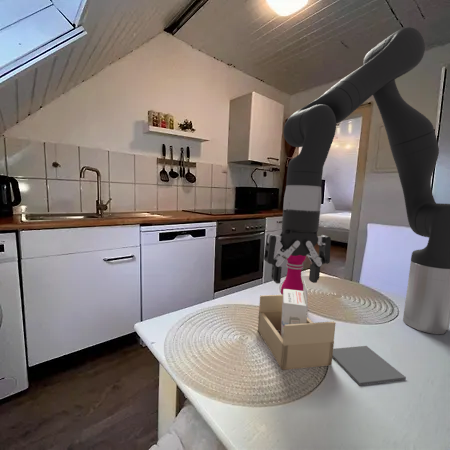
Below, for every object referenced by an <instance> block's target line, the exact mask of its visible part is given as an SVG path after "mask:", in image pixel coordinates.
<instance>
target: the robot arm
mask: <svg viewBox="0 0 450 450" xmlns="http://www.w3.org/2000/svg"><path fill="white" fill-rule="evenodd" d="M425 45H426V44H425V40H424V37H423V35H422V33H421V32H420V31H419V30H418V29H417V28H415V27H413V26H412V27H410V26H407V27H403V28H400V29H398V30H396V31H395V32H393V33H392V34H390V35H389V36H387V38H384V39H383V40H382V41H381V42H379V43H378V44H376V46H374V47H372V48H371V49H370V50H369V51H368V52H367V53H366V54H365V56H364V58H363V64H362V65H361V66H360V67H359V68H357V69H355V70H354V71H352V72H351V73H349V74H348V75H346V76H345V77H343V78H342V79H340V80H339V81H338V82H336V83H335V84H334V85H333V86H331V87H330V88H329V89H328V90H326V91H325V92H324V93H323V94H322V95H320V96H319V97H317V98H316V99H315V100H313V101H312V102H310V103H308V104H306V105H305V106H303V107H301V108H300V109H298V110H297V111H295V112H294V113H293V114H291V115H290V116H289V117H288V118H287V120H286V122H285V123H284V127H283V136H284V137H283V138H284V139H285V141H286V142H287V144H288V145H289V146H291V147H295V148H301V149H300V151H299V154H298V155H296V156H294V157H293V158H291V159H290V160H289V162H288V165H287V171H286V172H287V173H286V184H285V185H286V186H285V191H284V195H283V196H284V197H283V207H282V219H281V231H280V232H281V233H280V235H278V234H272V233H267V235H266V238H265V247H264V254H263V260H264V261H265V262H267V263H268V264H269V265H271V280H273V282H274V283H275V284H278V285H279V284H281V279H282V268H283V267H282V264H283V263H284V261H286V260H287V259H288V258H289V256H290V255H292V256H298V255H302V256H306V257H308V259H309V261H310V263H309V264H310V266H309V276H308V281H310V282H311V283H314V284H315V283H318V280H319V279H320V276H321V275H320V274H321V267H322V265H325V264H329V263H330V262H331V247H332V245H331V243H332V239H331V237H330V236H328V235H325V234H321V235H319V236H318V231H319V228H320V227H319V226H320V218H321V208H322V207H321V206H322V182H323V173H324V171H323V170H324V165H325V163H326V160H327V158H328V155H329V152H330V150H331V147H332V144H333V142H334V138H335V135H336V131H337V124H339V123H341V122H342V121H344V120H346V119H347V118H348V117H349V116H350V115H351V114H352V113H354V112H355V111H356V110H357V109H358V108H360V107H361V106H362V105H363V104H364V103H366V101H367V100H368V99H369V98H371V97H373V98H374V101H375V103H376V105H377V108H378V109H377V110H378V111H379V114H380V116H381V120H382V122H383V125H384V129H385V132H386V135H387V140H388V143H389V147H390V152H391V154H392V155H391V156H392V158H393V161H394V164H395V167H396V170H397V174H398V177H399V181H400V184H401V185H400V186H401V189H402V193H403V199H404V205H405V211H406V216H407V222H408V226H409V227H410V229H411V230H412V232H413V233H414V234H416V235H418V236H421V237H423V238H424V237H425V238H428V240H427V241H428V242H427V245H426V246H425V247H424V248H421V249H420V248H419V249H416V250H415V249H414V250H413V251H412V252H411V257H410V264H409V265H410V266H409V271H408V272H409V273H408V281H407V288H406V295H405V301H404V302H405V303H404V310H403V317H402V321H403V322H404V323H405V324H406V326H409V327H411V328H413V329H414V330H415V329H416V331H417V330H418V331H420V332H424V333H428V334H432V335H443V334H445V333H446V332H447V331H449V330H450V203H440V202H439V203H437V202H436V201H435V198H434V195H433V191H432V182H431V181H432V177H433V173H434V170H435V168H436V165H437V162H438V159H439V153H440V146H439V143H438V139H437V135H436V131H435V127H434V125H433V123H432V122H431V121H430V119H429V118H427V117H426V116H425V115H424V114H423V113H422V112H420V111H419V110H417V109H415V108H414V107H413V106H411V105H410V104H409V103H407V102H406V101H405V99H404V98H403V97H402V95H401V93H400V91H399V89H398V87H397V84H396V79H398V78H400V77H402V76H403V75H405V74H407V73H409V72H410V71H412V70H413V69H415V68H416V67H417V66H418V65H419V64H420V63H421V62H422V60H423V57H424V55H425V52H426V51H425V50H426V46H425ZM279 242H280V244H281V246H280V247H279V248H278V249H277V251H276V254H275V250H276V246H278V244H279ZM316 245H318V252H317V251H316V249H315V246H316Z"/></svg>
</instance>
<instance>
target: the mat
mask: <svg viewBox="0 0 450 450" xmlns="http://www.w3.org/2000/svg"><path fill="white" fill-rule="evenodd" d="M332 360H334V361H335V362H336V363H337V364H338V365H339V366H340V368H342V369H343V370H344V371H345V372H346V373H347V374H348V375H349V376H350V377H351V379H353V381H354V382H355V383H356V384H357V385H358V386H365V385H366V386H367V385H373V384H383V383H389V382H390V383H391V382H399V381H400V382H401V381H406V380H407V377H406V376H405V375H404V374H403V373H401V372H400V371H399V370H398V369H397V368H395V367H394V366H392V365H391V364H390V363H389V362H388V361H386V360H385V359H384V358H382V357H381V356H380V355H379V354H377V353H376V352H375V351H373V350H372V348H370V347H369V346H367V345H362V346H361V345H360V346H351V347H349V346H348V347H338V348H337V347H336V348H333V356H332Z"/></svg>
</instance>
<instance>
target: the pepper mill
mask: <svg viewBox="0 0 450 450" xmlns="http://www.w3.org/2000/svg"><path fill="white" fill-rule="evenodd" d="M306 259H307V255H306V256H302V255H298V256H292V255H290V256H289V258H288V259H286V260H287V261H286V265H285V266H286V268H287V272H286V276H285V277H284V278H285V279H284V280H283V282H282V284H281V287H280V293H281V294H280V295H283V289H290V290H299V291H303V280H302V271H303V269H304V262H305V260H306Z"/></svg>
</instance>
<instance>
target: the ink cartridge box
mask: <svg viewBox="0 0 450 450" xmlns="http://www.w3.org/2000/svg"><path fill="white" fill-rule="evenodd" d="M302 282H303V291H299V290H290V289H283V300H282V319H281V330H280V336H281V337H282V338H283V336H284V325H286V324H302V323H307V317H308V309H309V308H308V307H309V306H308V305H309V304H308V299H309V297H308V289H307V285H306V282H305V278H303V280H302Z"/></svg>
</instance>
